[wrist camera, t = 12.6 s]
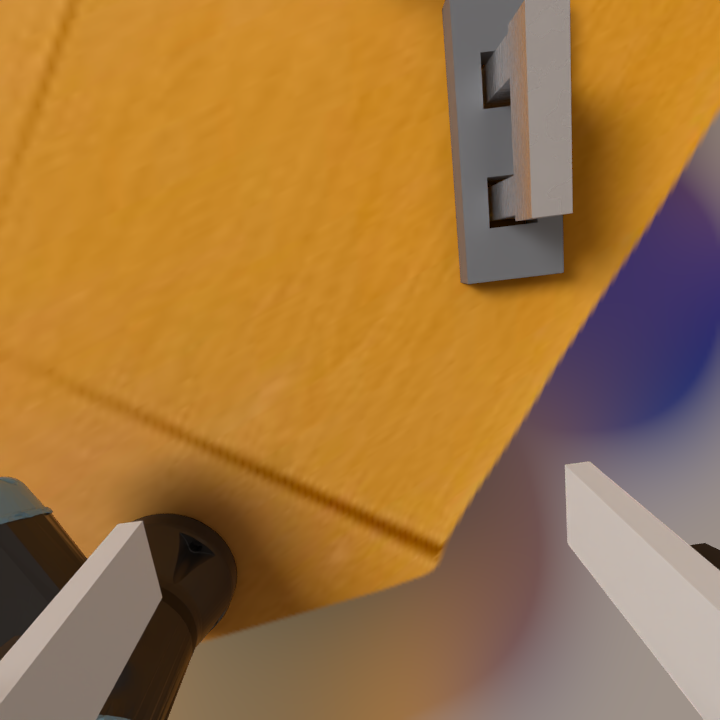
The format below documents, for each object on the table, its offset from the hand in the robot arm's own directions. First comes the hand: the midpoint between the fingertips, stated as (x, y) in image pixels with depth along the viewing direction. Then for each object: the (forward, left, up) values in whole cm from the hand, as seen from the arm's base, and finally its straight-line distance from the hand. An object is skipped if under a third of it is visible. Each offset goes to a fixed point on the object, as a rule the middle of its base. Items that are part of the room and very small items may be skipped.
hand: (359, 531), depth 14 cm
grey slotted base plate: (+16, +16, -34) cm, 41 cm away
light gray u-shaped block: (+16, +16, -34) cm, 41 cm away
